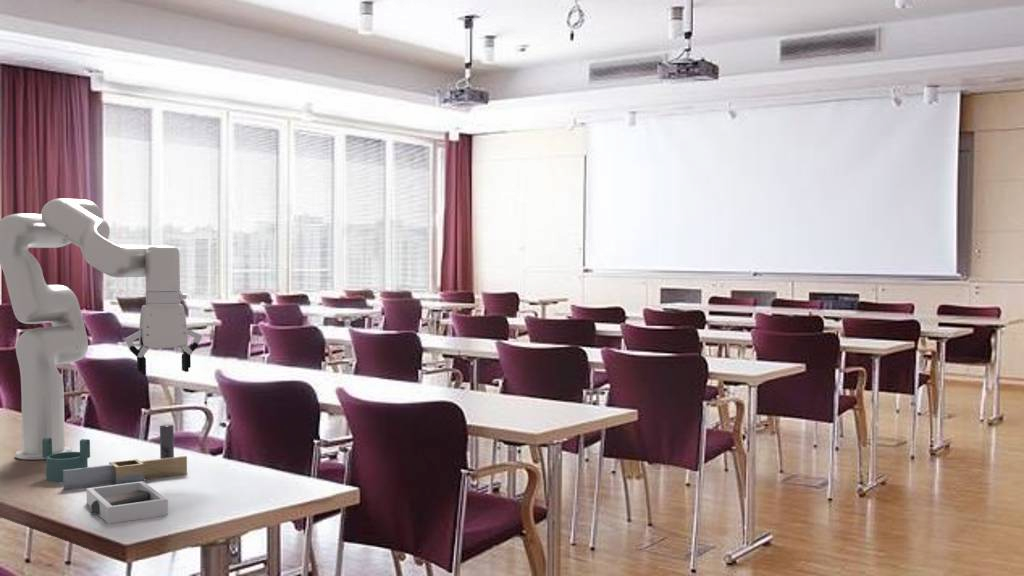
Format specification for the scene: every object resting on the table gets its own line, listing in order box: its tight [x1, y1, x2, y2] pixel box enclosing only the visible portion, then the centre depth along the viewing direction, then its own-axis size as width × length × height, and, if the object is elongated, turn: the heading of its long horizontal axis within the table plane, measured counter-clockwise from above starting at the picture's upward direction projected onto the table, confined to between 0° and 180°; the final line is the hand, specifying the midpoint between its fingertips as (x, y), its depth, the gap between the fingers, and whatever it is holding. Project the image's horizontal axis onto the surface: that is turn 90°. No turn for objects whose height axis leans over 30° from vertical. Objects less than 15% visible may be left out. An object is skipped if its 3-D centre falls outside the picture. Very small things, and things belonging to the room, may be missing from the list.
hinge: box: [62, 455, 188, 490], centre depth 220 cm, size 26×6×4 cm, turn 125°
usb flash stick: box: [90, 490, 150, 516], centre depth 196 cm, size 5×12×3 cm, turn 146°
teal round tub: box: [42, 438, 91, 483], centre depth 223 cm, size 9×9×9 cm
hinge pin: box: [159, 424, 175, 459], centre depth 232 cm, size 3×3×10 cm
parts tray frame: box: [85, 481, 169, 524], centre depth 196 cm, size 18×11×3 cm, turn 35°
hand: (164, 372), depth 231 cm, fingers open, 9 cm apart
